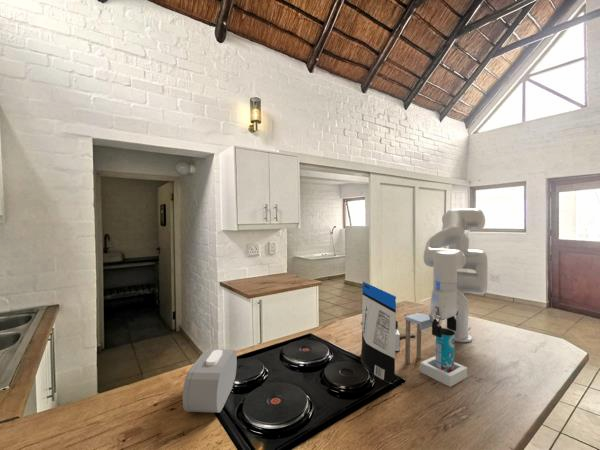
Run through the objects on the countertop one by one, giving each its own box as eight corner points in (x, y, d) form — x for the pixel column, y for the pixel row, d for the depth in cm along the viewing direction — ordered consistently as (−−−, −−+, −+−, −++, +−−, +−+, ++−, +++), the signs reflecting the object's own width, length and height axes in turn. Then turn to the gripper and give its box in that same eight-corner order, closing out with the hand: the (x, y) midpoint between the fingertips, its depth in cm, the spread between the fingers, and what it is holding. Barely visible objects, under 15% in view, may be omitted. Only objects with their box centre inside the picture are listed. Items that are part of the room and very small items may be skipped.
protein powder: (381, 388, 91) (383, 297, 91) (351, 354, 115) (352, 281, 115) (407, 384, 93) (408, 295, 93) (372, 352, 117) (373, 281, 117)
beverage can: (450, 378, 96) (450, 335, 96) (432, 371, 101) (433, 330, 101) (456, 372, 100) (457, 331, 100) (439, 366, 105) (440, 326, 105)
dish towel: (389, 321, 155) (389, 317, 155) (416, 338, 133) (416, 333, 133) (361, 324, 151) (361, 319, 151) (384, 342, 128) (384, 336, 128)
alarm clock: (208, 379, 95) (209, 340, 95) (236, 380, 95) (236, 341, 95) (181, 423, 74) (181, 373, 74) (216, 424, 74) (216, 374, 74)
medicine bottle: (399, 351, 118) (400, 323, 118) (382, 349, 119) (382, 321, 119) (397, 344, 125) (397, 317, 125) (380, 342, 126) (381, 316, 126)
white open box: (419, 356, 114) (420, 312, 114) (467, 377, 98) (467, 326, 98) (402, 363, 108) (403, 316, 108) (450, 387, 92) (451, 333, 92)
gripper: (447, 280, 108) (447, 324, 108) (420, 287, 98) (420, 334, 99) (467, 284, 102) (467, 330, 102) (441, 292, 92) (441, 342, 93)
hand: (444, 332), depth 101 cm, fingers open, 9 cm apart
